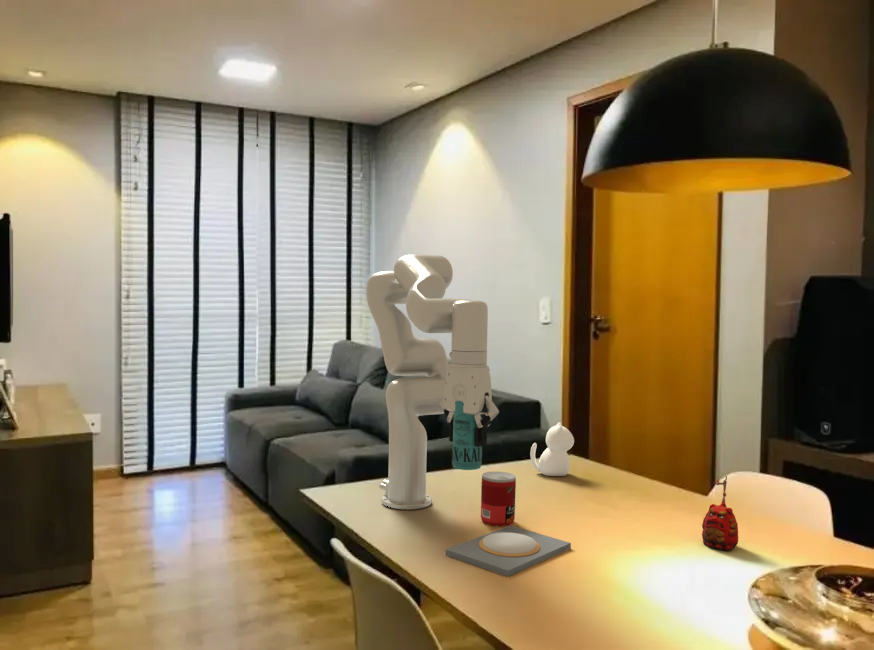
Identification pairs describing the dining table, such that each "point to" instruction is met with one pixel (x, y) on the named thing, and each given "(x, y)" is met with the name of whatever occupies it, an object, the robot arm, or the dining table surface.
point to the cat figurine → (554, 452)
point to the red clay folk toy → (720, 525)
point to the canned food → (498, 498)
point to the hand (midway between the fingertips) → (467, 442)
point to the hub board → (508, 550)
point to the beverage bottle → (465, 440)
